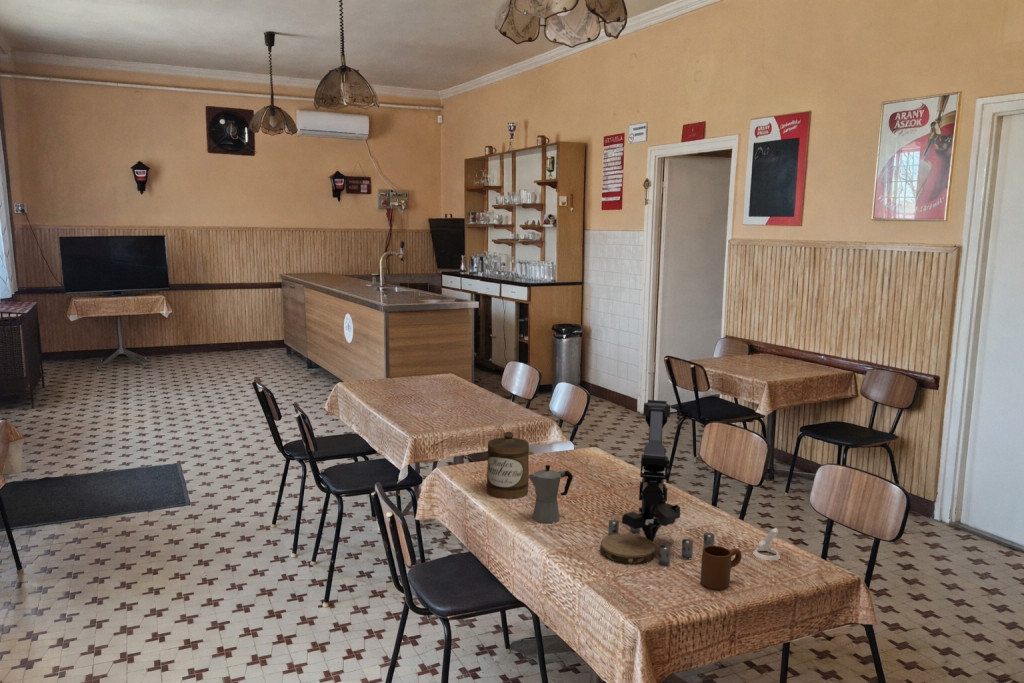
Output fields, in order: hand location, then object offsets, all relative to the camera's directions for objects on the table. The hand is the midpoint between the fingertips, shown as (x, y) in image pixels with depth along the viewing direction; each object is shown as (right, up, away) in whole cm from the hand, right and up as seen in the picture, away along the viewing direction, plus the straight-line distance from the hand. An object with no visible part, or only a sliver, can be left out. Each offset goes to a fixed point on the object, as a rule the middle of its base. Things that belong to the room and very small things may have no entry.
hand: (650, 543), depth 227 cm
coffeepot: (-29, +2, +21) cm, 36 cm away
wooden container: (-43, +6, +45) cm, 63 cm away
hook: (+33, -3, -4) cm, 34 cm away
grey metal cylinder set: (+3, -1, +3) cm, 4 cm away
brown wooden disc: (-7, -2, -5) cm, 9 cm away
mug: (+15, -5, -22) cm, 27 cm away
